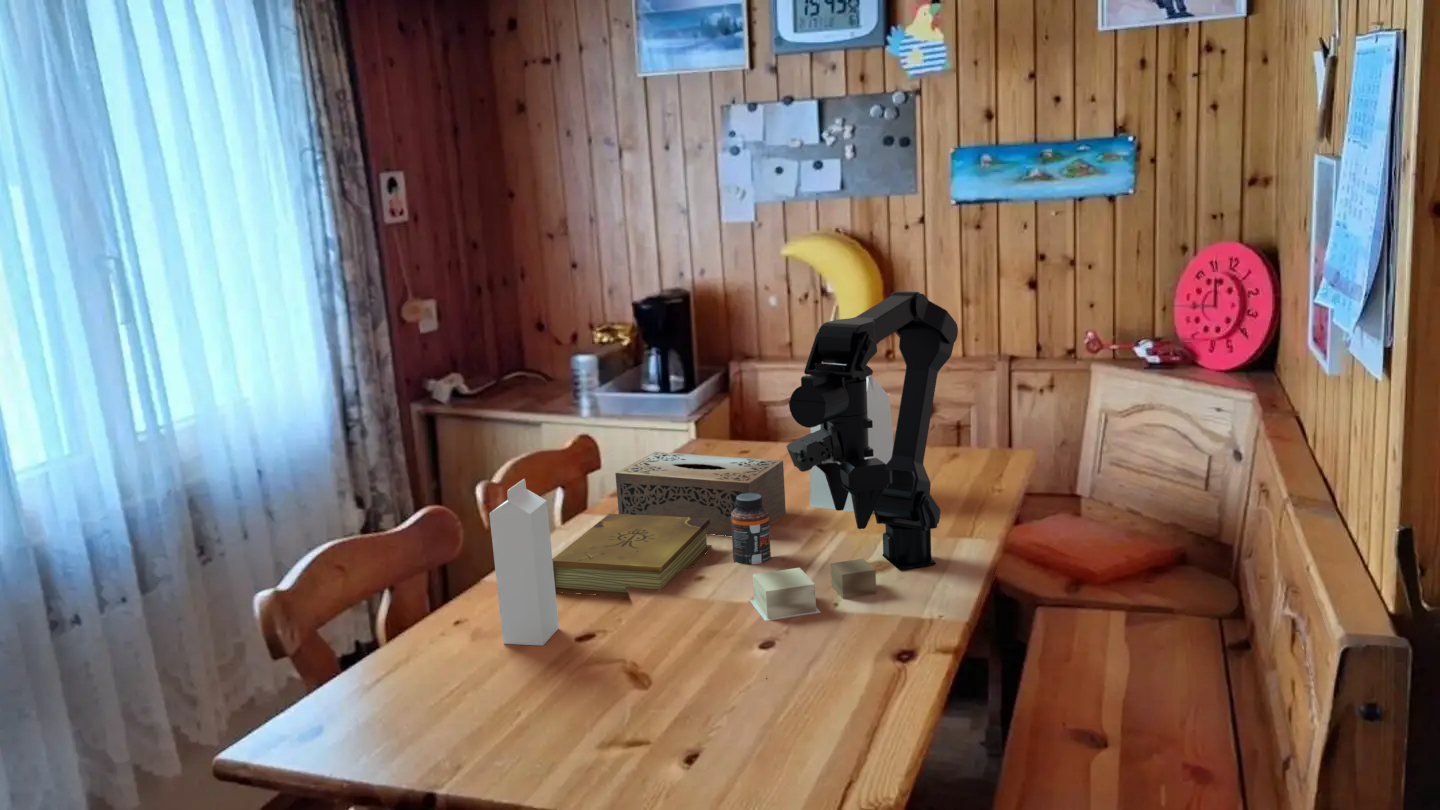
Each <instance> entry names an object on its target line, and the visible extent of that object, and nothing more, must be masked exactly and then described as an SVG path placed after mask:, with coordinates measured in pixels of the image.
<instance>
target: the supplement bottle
mask: <svg viewBox="0 0 1440 810" xmlns="http://www.w3.org/2000/svg"><path fill="white" fill-rule="evenodd" d="M736 505H737V508H736V509H734V510H733V511H732V513H731V528H732V537H731V540H732V541H731V543H732V560H733V563H734V564H735V563H737V564H741V565H758V564H763V563H766V562H768V561H770V560H771V558H772V556H771V555H772V554H771V537H770V536H771V534H770V533H771V532H770V526H769V513H768V511H767V509H765V508H764V507H763V506H762V496H761V495H759V494H753V493H748V494H741V495H739V496H737V497H736Z"/></svg>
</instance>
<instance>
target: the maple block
mask: <svg viewBox="0 0 1440 810" xmlns="http://www.w3.org/2000/svg"><path fill="white" fill-rule="evenodd" d="M752 585H753V586H752V591H753V600H754V602H755V603H756V604H757V606H758V607H759V608H760V610H761V611H762V612H763V614H764V615H765V616H766V618H767V619H770V618H777V617H783V616H790V615H796V614H803V613H809V612H816V607H817V603H816V602H817V599H816V597H817V596H816V584H815V583H814V582H813V580H812V579H811V578H810V577H809V575H807V574H806V573H805V572H804V570H802V568H801V567H795V568H788V569H787V568H786V569H781V570H774V571H766V572H761V573H760V572H759V573H753V574H752Z"/></svg>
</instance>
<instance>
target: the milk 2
mask: <svg viewBox="0 0 1440 810" xmlns="http://www.w3.org/2000/svg"><path fill="white" fill-rule="evenodd" d="M836 365H845V364H836ZM867 366H868V364H867ZM868 367H869V366H868ZM872 375H873V374H872ZM872 375H870V376H867V377H866V380H867V414H868V418H869V419H871V420H872V423H873V428H868V446H869V447H870V448H872V449H873V456H872V457H865V459H872V458H877V459H879V460H880V461H882V462H884V463H885V464H887V463H888V462H889V460H890V459H891V457H892V451H893V445H894V436H893V421H892V411H891V401H890V397H889V395H888V393H887V392H886V390H884V388H883V387H882V386H881V385H880V384H879V382H878V381H877V380H876V379H875V378H874V377H873V376H872ZM820 428H821V425H818V426H815V427H811V428H810V433H813V432H816V431H818V430H820ZM809 471H810V472H809V473H810V474H809V476H810V478H809V479H810V480H809V507H813V508H820V509H827V510H834V511H835V510H836V509H835V505H834V502H833V499H832V495H831V492H830V489H829V486H828V482H827V479H826V476H825V474H824V472H823V471H821V470H820V469H819V468H818V467H817V466H816V465H815V466H813V467H812V469H810V470H809ZM836 511H837V510H836ZM841 511H843V512H849V513H854V508H853V503H852V497H851V494H850V493H848V496H847V500H846V503H845V507H844V509H843V510H841ZM873 513H874V511H873Z"/></svg>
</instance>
